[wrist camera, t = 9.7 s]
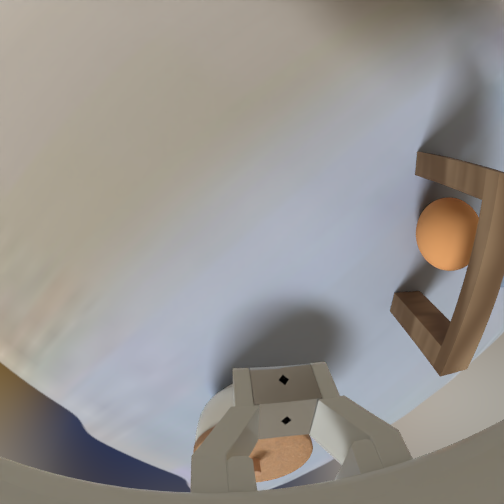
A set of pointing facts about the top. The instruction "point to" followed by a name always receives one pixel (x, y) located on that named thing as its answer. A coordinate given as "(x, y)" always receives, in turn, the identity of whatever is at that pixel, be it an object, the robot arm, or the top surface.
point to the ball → (447, 233)
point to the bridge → (477, 275)
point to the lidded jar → (266, 450)
